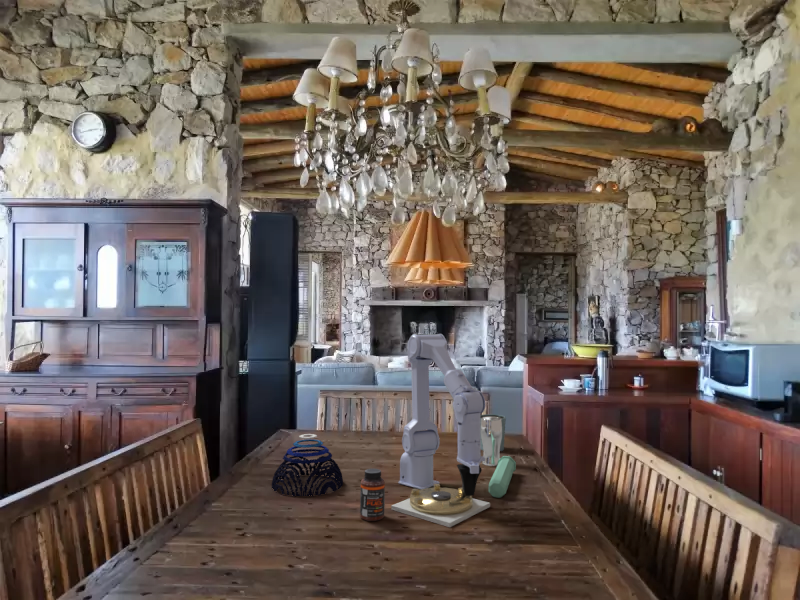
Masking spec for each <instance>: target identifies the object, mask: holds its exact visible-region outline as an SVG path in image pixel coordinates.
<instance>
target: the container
mask: <svg viewBox="0 0 800 600" xmlns="http://www.w3.org/2000/svg"><path fill="white" fill-rule="evenodd" d="M495 467H496V468H495V470H494V472H493V474H492V476H491V478H490V480H489V482H488V493H489V494H490V495H491V496H492V497H493V498H502V497H503V496H505V494H507V490H508V488H509V485H510V483H511V479H512V476H513V473H514V472H515V471H516V468H517V463H516V461H515V460H514V458H513V457H511V456H509V455H508V456H507V455H503V456H501V457H500V459H499V460H498V465H497V466H495Z"/></svg>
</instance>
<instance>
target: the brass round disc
mask: <svg viewBox="0 0 800 600" xmlns="http://www.w3.org/2000/svg"><path fill="white" fill-rule="evenodd" d="M409 498H410V505H411V507H412V508H414V509H416V510H418V511H421V512H424V513H429V514H437V515H451V514H458V513H462V512H465V511H468V510H469V509H471V508H472V506H473V499H474V498H473V495H472V496H466V495H465V493H464V489H463V483H462V482H461V487H458V488H451V487H441V485H440V483H439V484H434V486H433V487H429V488H426V489H418V488H414V487H412V489H411V493H410V494H409Z"/></svg>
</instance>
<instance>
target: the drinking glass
mask: <svg viewBox="0 0 800 600" xmlns="http://www.w3.org/2000/svg"><path fill="white" fill-rule="evenodd" d="M488 416H491V417H499V418H501V422H502V439H501V445H500V451H501V452H504V450H505V436H506V435H505V433H506V420H507V418H506V416H505V415H502V414H494V413H488V414H487V413H486V414H480V417H481V420H482V417H488ZM481 451H483V444H482V438H481Z"/></svg>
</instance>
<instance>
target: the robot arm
mask: <svg viewBox="0 0 800 600" xmlns="http://www.w3.org/2000/svg"><path fill="white" fill-rule="evenodd" d="M407 361H408V362H409V363H411V366H410V367H411V369H410V370H411V371H410V372H411V408H412V409H411V411H412V412H411V413H412V417H411V420H410V421H409V422H408V423H407V424H405V425H404V426H403V432H402V433H403V434H402V439H401V444H402V449H403V450H404V452H403V453H402V454H401V456H400V460H399V481H398V482H397V483H398V484H399V485H403V486H407V487H410V488H414V489H419V490H421V489H426V488H433V487H434V484H439V485H440V481H438V480H434V455H435V454H436V451H437V450H438V449H439V447H440V442H441V441H440V440H441V439H440V436H439V431H438V425H436V423H435V422H433V421H431V419H430V417H431V415H430V413H431V410H430V374H429V373H430V372H429V366H430V365H431V364H432V363H433V362H434V363H435V365H436V366H437V368H438V369H439V370H440V371H441V373H442V374H443V376H444V378H443V384H444V386H445V388H446V390H447V391H448V392H449V394H450V396H451V398H452V399H453V402H452V407H453V411H454V415H455V421H456V422H457V456H456V461H457V462H458V463H459V464H456V467H457V469H458V471H459V474H460V477H461V484H462V483H463V489H464V493H465V495H466V496H472V497H473V496H474V495H475V492H476V487H477V483H478V479H479V477H480V475H481V473H482V467H481V465H480V464H481V463H482V461H485V457H483V455H481V452H482V450H481V417H480V415H482V414H483V413H484V412H485V409H486V399H485V396H484V394H483V392H482V391H481V390H477V388H473V386H472V385H471V383H470V381H468V379H467V377H466V375H465V374H464V371H462V370H460V369H456V366H455V365H454V363H453V360H452V358H451V356H450V355H449V352H448V340H447V339H446V338H445V335H443V334H442V333H437V334H435V333H434V334H432V333H431V334H416V333H413V334H412V335H410V337H409V339H408V341H407Z"/></svg>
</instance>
